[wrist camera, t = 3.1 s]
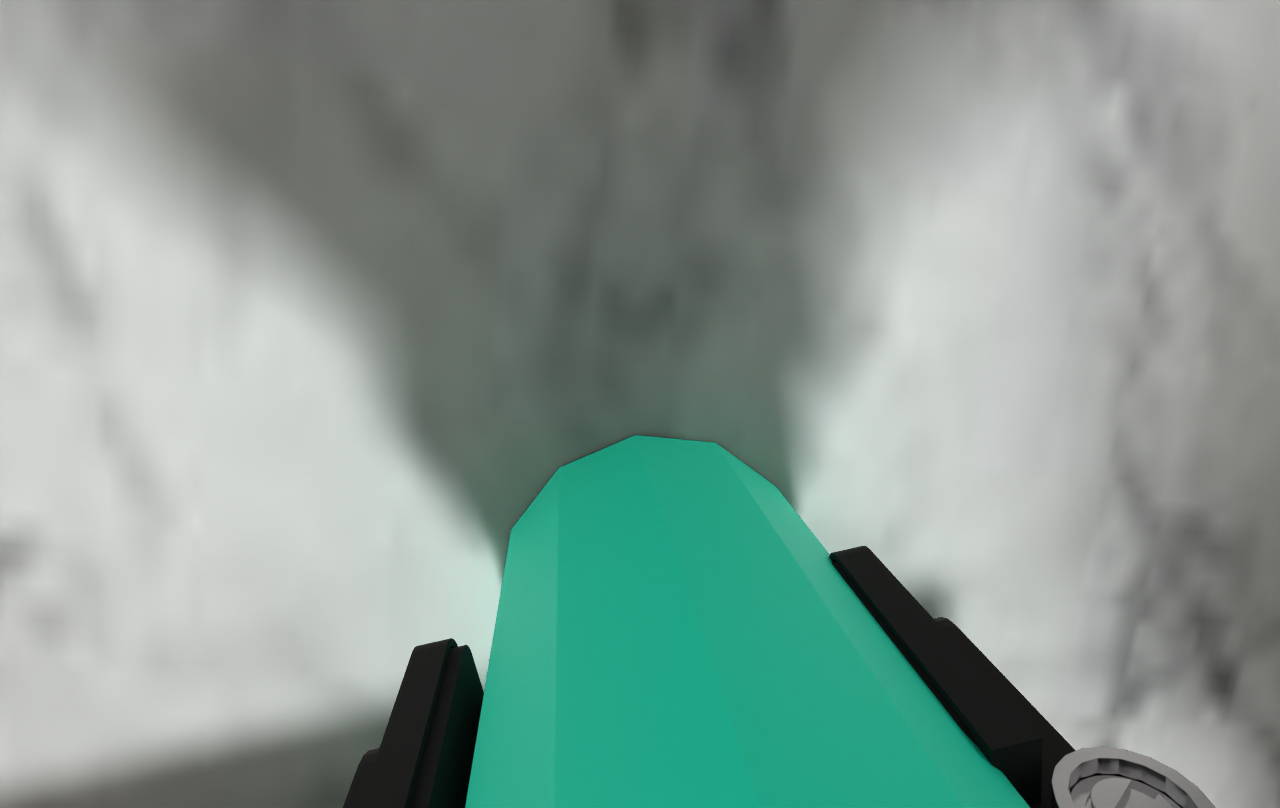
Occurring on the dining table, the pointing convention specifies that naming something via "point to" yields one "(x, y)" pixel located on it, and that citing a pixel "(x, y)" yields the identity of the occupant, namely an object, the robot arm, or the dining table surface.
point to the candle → (699, 656)
